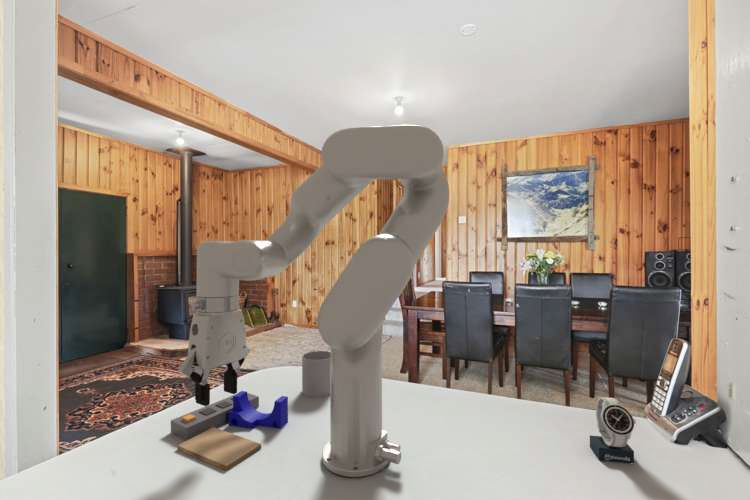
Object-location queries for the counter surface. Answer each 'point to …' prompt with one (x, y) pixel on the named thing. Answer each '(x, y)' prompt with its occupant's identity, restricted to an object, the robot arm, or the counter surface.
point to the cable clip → (257, 413)
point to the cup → (316, 373)
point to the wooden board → (219, 448)
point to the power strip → (206, 417)
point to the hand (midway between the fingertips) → (217, 397)
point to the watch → (613, 432)
